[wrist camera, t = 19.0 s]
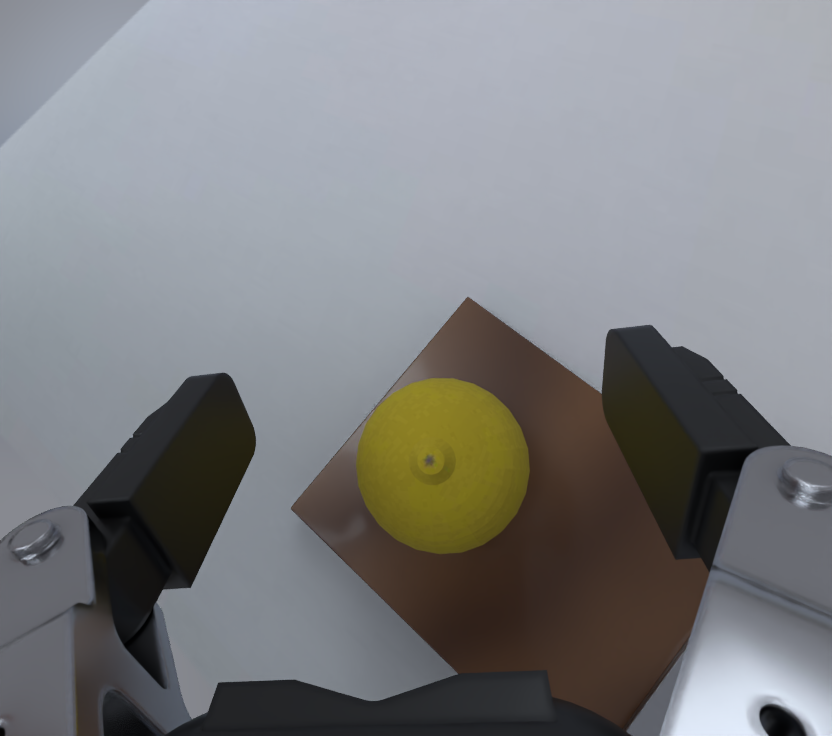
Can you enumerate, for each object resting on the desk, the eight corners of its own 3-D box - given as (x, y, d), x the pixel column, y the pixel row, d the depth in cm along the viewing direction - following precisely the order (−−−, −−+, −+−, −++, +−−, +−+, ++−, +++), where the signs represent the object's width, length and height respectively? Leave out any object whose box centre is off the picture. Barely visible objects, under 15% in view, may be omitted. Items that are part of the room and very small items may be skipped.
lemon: (427, 375, 20) (393, 315, 12) (543, 440, 19) (588, 419, 11) (360, 487, 19) (281, 500, 12) (476, 562, 18) (473, 632, 10)
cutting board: (302, 505, 21) (289, 508, 20) (468, 307, 22) (467, 296, 21) (649, 842, 17) (665, 878, 15) (836, 577, 18) (867, 587, 16)
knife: (637, 823, 16) (647, 846, 15) (587, 775, 16) (594, 794, 15) (830, 551, 17) (852, 556, 16) (778, 513, 17) (796, 516, 16)
